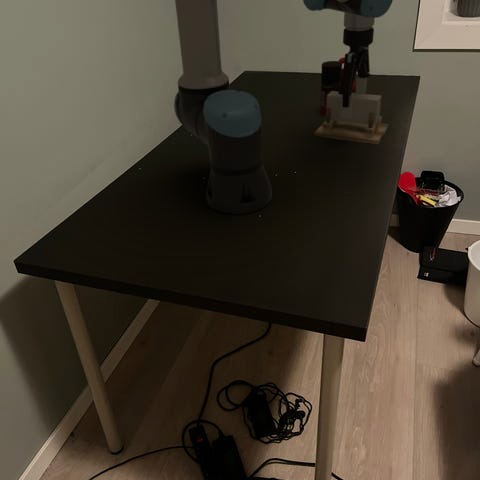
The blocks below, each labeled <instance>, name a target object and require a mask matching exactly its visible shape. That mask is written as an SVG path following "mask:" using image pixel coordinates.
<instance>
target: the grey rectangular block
mask: <svg viewBox="0 0 480 480" xmlns="http://www.w3.org/2000/svg"><path fill="white" fill-rule="evenodd" d="M352 94H353V100H352V115H351V119H346V118H341V101H342V95H341V94H338V92H337V91H331V92H330V93H329V94H328V95H327V108H331V113H330V120H331V121H339V122H348V123H356V124H365V125H368V123H369V113H370V112H373V113H374V119H373V125H374V126H376V124H377V123H378V121H379V116H381V115H380V114H381V105H382V95H380V94H367V93H366V94H359V93H356V92H352Z"/></svg>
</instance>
